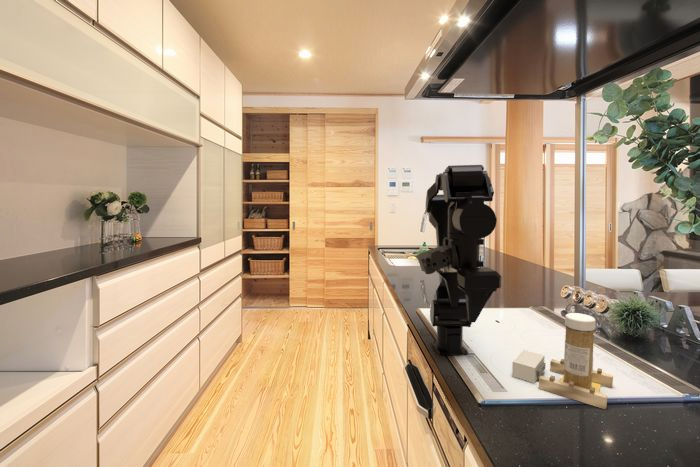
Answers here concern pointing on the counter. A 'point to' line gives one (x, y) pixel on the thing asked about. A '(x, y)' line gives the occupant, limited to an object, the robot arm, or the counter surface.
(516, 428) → the counter surface
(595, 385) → the band
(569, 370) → the sprinkles bottle
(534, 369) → the block
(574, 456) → the counter surface
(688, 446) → the counter surface
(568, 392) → the guide channel
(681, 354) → the counter surface
